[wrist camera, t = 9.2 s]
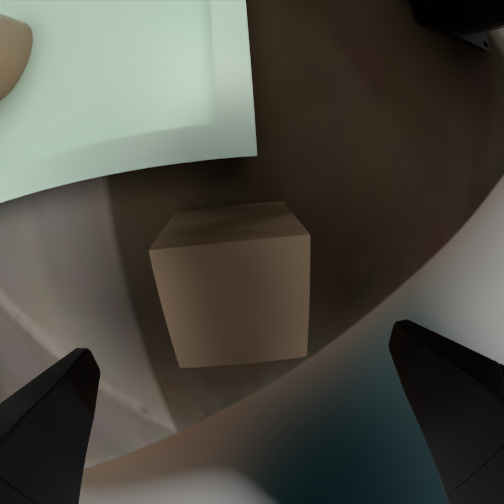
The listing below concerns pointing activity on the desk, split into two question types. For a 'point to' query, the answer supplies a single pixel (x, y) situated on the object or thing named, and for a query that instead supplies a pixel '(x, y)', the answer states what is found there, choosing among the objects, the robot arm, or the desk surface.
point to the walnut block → (234, 284)
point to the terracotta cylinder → (13, 52)
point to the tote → (125, 89)
